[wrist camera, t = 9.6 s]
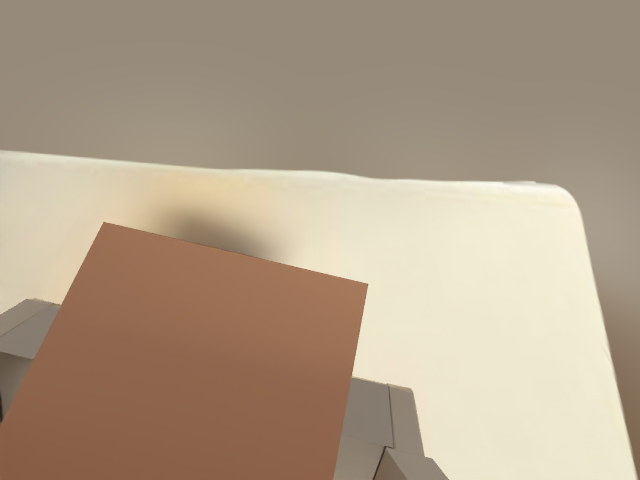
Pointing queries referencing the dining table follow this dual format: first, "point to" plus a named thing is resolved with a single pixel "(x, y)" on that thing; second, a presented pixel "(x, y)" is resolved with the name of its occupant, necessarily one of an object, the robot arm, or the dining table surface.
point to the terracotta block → (186, 369)
